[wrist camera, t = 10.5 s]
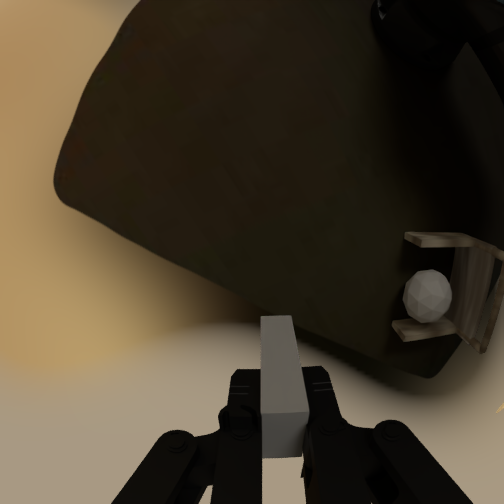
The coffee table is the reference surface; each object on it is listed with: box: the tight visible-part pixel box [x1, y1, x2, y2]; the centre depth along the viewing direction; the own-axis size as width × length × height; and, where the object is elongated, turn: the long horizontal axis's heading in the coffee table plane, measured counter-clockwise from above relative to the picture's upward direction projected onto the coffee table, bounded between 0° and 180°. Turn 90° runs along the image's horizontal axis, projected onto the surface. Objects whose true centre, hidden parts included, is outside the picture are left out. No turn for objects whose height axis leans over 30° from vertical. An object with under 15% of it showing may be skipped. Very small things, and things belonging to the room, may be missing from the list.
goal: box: [392, 232, 504, 354], centre depth 33 cm, size 12×15×13 cm
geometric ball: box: [403, 269, 452, 323], centre depth 36 cm, size 8×8×8 cm
